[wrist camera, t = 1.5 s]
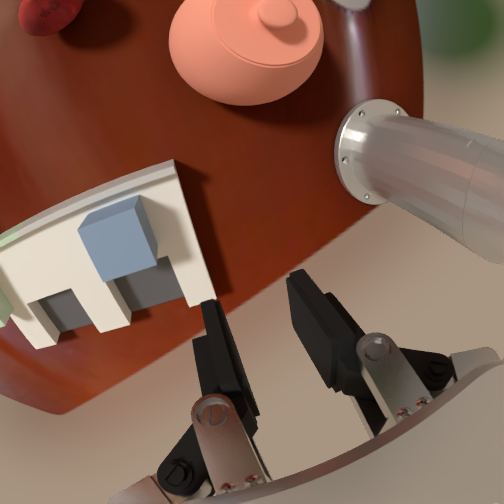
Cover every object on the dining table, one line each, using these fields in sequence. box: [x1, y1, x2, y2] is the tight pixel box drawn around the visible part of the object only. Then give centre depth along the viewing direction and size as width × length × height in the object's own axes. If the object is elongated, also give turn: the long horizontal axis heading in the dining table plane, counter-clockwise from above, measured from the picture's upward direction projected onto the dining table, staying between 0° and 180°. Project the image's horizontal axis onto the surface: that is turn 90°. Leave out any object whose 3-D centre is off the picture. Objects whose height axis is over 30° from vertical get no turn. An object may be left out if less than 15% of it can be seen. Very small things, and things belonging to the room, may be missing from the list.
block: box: [77, 195, 158, 283], centre depth 21 cm, size 5×5×4 cm
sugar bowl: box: [169, 0, 324, 106], centre depth 15 cm, size 12×14×10 cm
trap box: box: [0, 159, 217, 349], centre depth 23 cm, size 25×14×6 cm, turn 101°
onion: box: [18, 0, 84, 36], centre depth 9 cm, size 6×6×8 cm
